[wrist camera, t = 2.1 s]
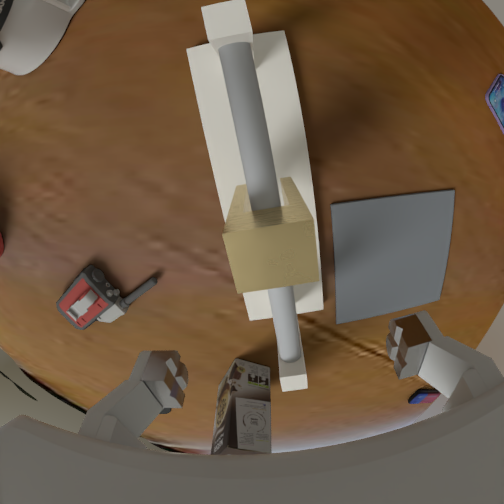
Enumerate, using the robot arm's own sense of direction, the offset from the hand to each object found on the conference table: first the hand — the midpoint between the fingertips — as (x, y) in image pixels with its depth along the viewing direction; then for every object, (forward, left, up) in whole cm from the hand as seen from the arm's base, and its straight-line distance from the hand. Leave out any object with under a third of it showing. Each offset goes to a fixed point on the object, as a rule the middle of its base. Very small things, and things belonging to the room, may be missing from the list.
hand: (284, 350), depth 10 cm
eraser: (+53, +31, -23) cm, 66 cm away
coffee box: (+31, -9, -23) cm, 40 cm away
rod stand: (0, 0, -23) cm, 23 cm away
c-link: (0, 0, -18) cm, 18 cm away
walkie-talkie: (+10, -26, -24) cm, 37 cm away
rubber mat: (+12, +16, -23) cm, 30 cm away
